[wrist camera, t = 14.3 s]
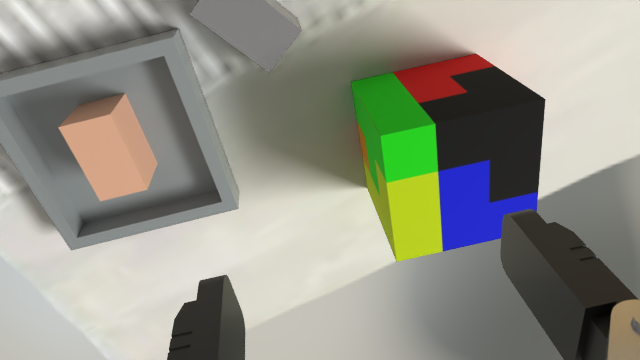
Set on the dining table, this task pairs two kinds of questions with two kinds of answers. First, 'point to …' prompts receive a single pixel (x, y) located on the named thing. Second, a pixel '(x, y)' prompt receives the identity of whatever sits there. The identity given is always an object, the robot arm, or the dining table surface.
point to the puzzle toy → (448, 152)
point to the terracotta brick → (110, 147)
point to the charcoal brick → (251, 27)
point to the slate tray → (156, 123)
